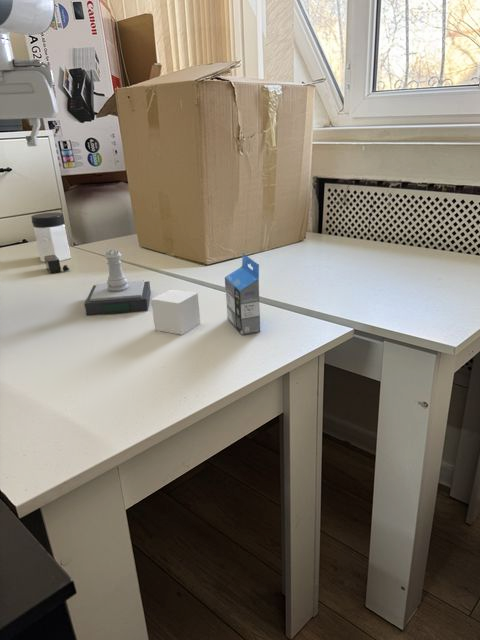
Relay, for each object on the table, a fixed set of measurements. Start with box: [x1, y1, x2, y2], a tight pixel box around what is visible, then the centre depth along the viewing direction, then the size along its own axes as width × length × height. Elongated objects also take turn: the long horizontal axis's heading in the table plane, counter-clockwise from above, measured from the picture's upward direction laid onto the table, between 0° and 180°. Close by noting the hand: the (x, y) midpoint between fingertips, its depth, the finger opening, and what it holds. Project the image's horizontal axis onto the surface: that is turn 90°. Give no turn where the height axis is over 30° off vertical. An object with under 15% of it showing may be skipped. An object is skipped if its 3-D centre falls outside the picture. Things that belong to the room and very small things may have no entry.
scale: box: [84, 280, 152, 316], centre depth 106 cm, size 12×12×3 cm
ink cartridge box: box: [224, 252, 261, 336], centre depth 91 cm, size 9×4×12 cm, turn 21°
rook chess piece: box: [104, 248, 129, 292], centre depth 104 cm, size 4×4×8 cm
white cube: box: [150, 288, 201, 336], centre depth 93 cm, size 6×6×6 cm
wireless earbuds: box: [44, 255, 71, 274], centre depth 131 cm, size 5×7×3 cm, turn 30°
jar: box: [31, 212, 72, 263], centre depth 140 cm, size 9×8×12 cm
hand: (6, 147), depth 92 cm, fingers open, 8 cm apart
